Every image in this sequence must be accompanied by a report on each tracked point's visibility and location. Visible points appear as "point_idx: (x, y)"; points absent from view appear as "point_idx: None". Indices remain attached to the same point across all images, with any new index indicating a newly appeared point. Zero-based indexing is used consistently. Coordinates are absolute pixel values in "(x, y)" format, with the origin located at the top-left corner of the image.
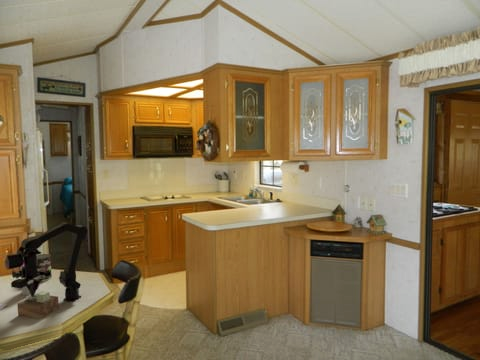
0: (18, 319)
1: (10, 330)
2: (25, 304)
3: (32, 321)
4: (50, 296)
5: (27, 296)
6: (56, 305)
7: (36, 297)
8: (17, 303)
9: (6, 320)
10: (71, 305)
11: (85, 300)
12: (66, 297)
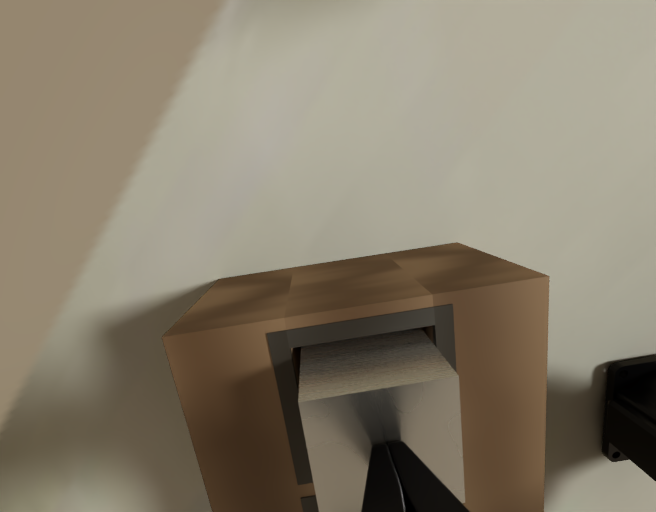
0: None
1: (30, 468)
2: (203, 464)
3: None
4: (520, 509)
5: (304, 429)
6: None
7: None
8: (163, 338)
9: (101, 274)
10: None
11: (639, 507)
12: (631, 433)
